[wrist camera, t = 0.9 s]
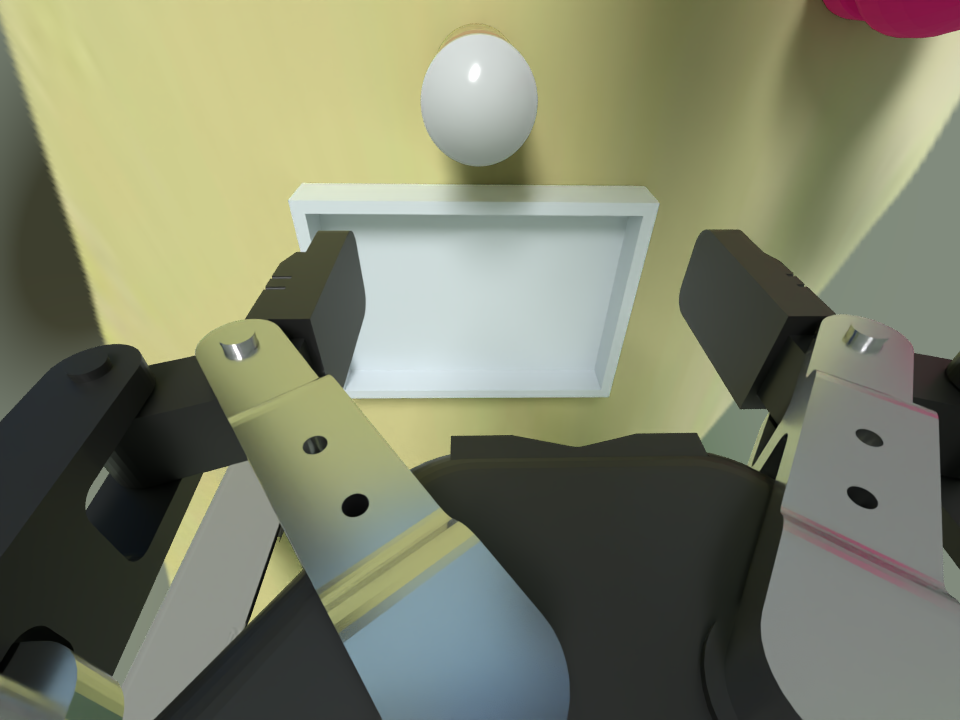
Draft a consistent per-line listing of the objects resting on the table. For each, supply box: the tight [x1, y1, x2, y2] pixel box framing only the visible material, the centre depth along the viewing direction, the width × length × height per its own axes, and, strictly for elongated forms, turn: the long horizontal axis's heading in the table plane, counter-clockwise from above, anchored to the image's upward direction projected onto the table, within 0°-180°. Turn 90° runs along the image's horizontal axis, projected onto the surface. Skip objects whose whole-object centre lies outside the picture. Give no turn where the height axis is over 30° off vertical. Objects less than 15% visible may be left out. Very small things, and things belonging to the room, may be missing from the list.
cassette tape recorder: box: [121, 461, 284, 720], centre depth 37 cm, size 14×6×25 cm, turn 154°
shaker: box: [421, 24, 538, 166], centre depth 23 cm, size 5×5×8 cm
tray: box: [288, 183, 660, 398], centre depth 34 cm, size 16×22×3 cm
